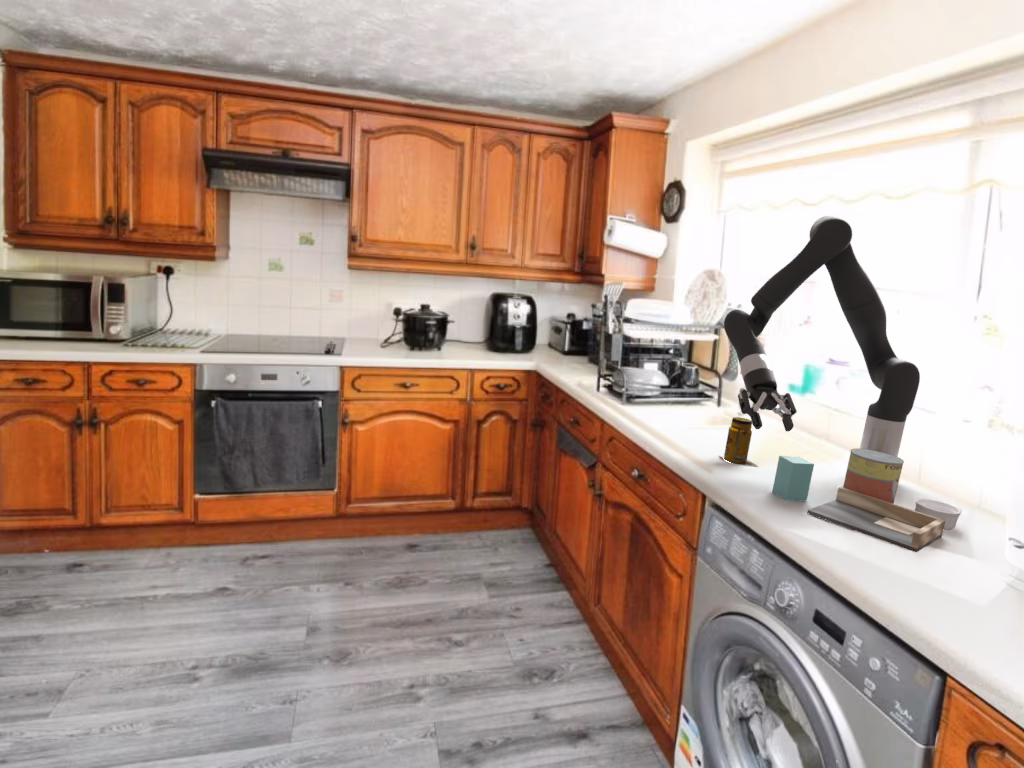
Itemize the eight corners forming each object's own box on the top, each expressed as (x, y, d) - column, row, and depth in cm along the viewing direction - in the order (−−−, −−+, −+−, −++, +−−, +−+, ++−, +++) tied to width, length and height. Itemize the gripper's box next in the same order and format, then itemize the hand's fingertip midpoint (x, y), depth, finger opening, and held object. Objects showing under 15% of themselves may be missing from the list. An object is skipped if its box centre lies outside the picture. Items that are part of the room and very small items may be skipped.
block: (792, 492, 162) (799, 456, 161) (806, 500, 157) (814, 464, 155) (772, 491, 161) (779, 455, 160) (785, 499, 156) (793, 463, 154)
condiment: (718, 456, 188) (725, 415, 186) (746, 458, 189) (754, 417, 187) (728, 464, 181) (736, 421, 179) (758, 467, 182) (766, 424, 180)
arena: (837, 502, 159) (840, 486, 158) (941, 537, 143) (945, 520, 142) (807, 513, 148) (810, 497, 147) (916, 552, 132) (920, 534, 131)
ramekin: (958, 535, 146) (963, 516, 145) (912, 523, 150) (916, 505, 149) (955, 523, 154) (959, 505, 153) (910, 512, 158) (915, 495, 157)
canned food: (891, 516, 153) (903, 466, 151) (837, 502, 159) (848, 454, 156) (893, 504, 162) (904, 457, 160) (843, 491, 168) (852, 445, 166)
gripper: (740, 364, 171) (756, 419, 162) (789, 369, 174) (808, 423, 165) (726, 380, 177) (741, 434, 168) (774, 384, 180) (791, 437, 171)
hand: (774, 428), depth 167 cm, fingers open, 8 cm apart
